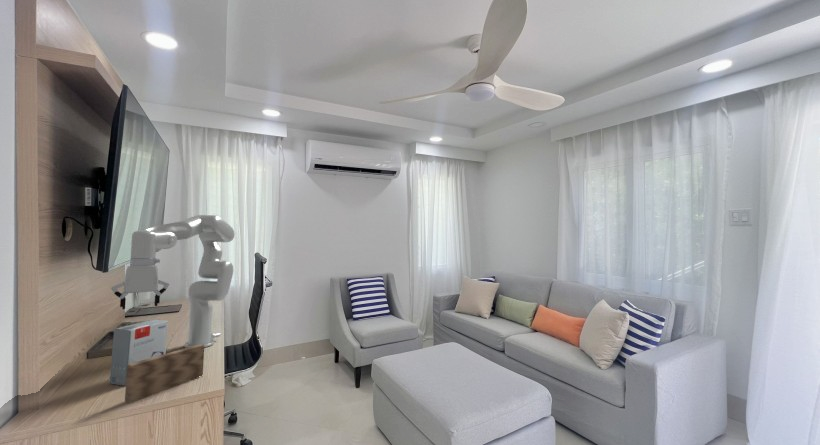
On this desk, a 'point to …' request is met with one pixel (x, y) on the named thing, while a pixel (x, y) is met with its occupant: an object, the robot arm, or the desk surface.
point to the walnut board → (163, 372)
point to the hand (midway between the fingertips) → (140, 307)
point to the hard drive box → (136, 346)
